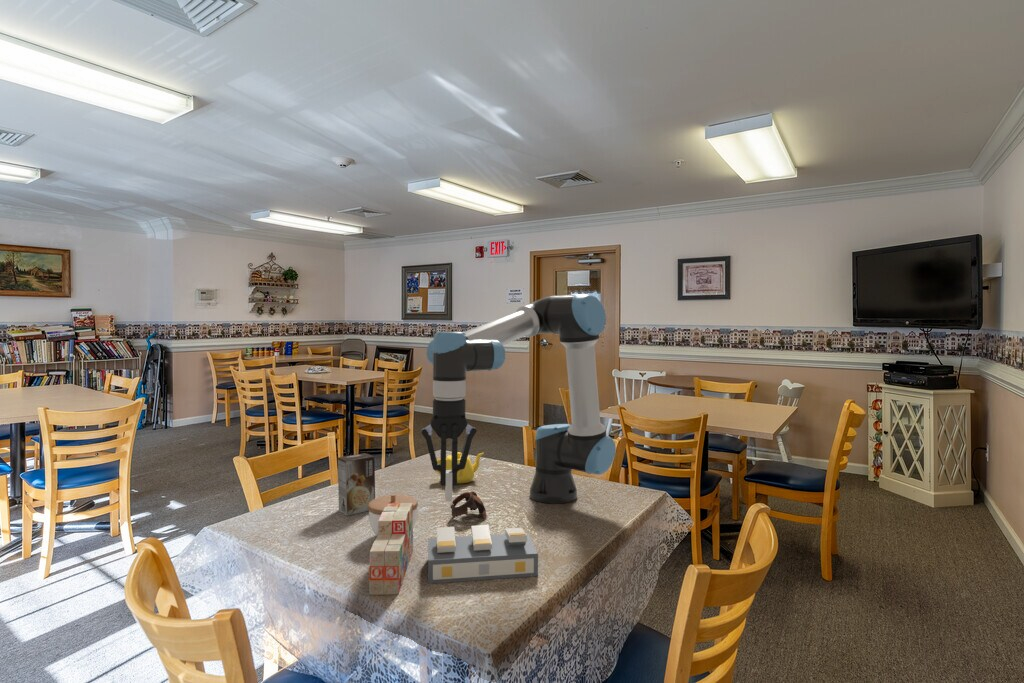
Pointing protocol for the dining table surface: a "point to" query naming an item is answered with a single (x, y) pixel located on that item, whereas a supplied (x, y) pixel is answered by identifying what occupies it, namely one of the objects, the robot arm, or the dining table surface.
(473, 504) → the brown curved piece
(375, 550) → the stack of blocks
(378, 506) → the lidded bowl
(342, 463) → the coffee box
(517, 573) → the switch box
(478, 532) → the rocker
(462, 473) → the teapot
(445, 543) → the rocker
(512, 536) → the small box
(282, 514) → the dining table surface
